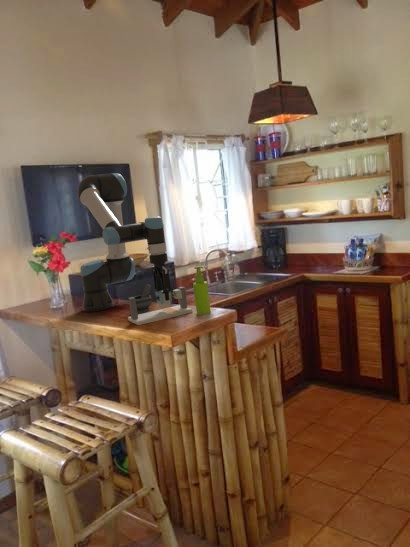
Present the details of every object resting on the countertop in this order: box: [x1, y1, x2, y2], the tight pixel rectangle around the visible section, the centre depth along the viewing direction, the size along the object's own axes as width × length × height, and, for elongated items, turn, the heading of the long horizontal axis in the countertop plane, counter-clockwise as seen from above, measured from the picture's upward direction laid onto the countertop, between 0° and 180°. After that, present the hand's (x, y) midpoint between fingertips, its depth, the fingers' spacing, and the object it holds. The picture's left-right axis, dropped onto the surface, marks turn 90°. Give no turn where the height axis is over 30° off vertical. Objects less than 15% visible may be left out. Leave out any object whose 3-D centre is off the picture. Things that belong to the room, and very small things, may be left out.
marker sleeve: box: [154, 290, 173, 305], centre depth 216 cm, size 5×5×5 cm
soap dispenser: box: [192, 265, 212, 315], centre depth 211 cm, size 6×7×20 cm
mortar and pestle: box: [133, 283, 153, 315], centre depth 228 cm, size 11×9×12 cm
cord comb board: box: [127, 286, 193, 326], centre depth 215 cm, size 12×25×10 cm, turn 118°
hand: (165, 306), depth 216 cm, fingers closed on marker sleeve, 5 cm apart
